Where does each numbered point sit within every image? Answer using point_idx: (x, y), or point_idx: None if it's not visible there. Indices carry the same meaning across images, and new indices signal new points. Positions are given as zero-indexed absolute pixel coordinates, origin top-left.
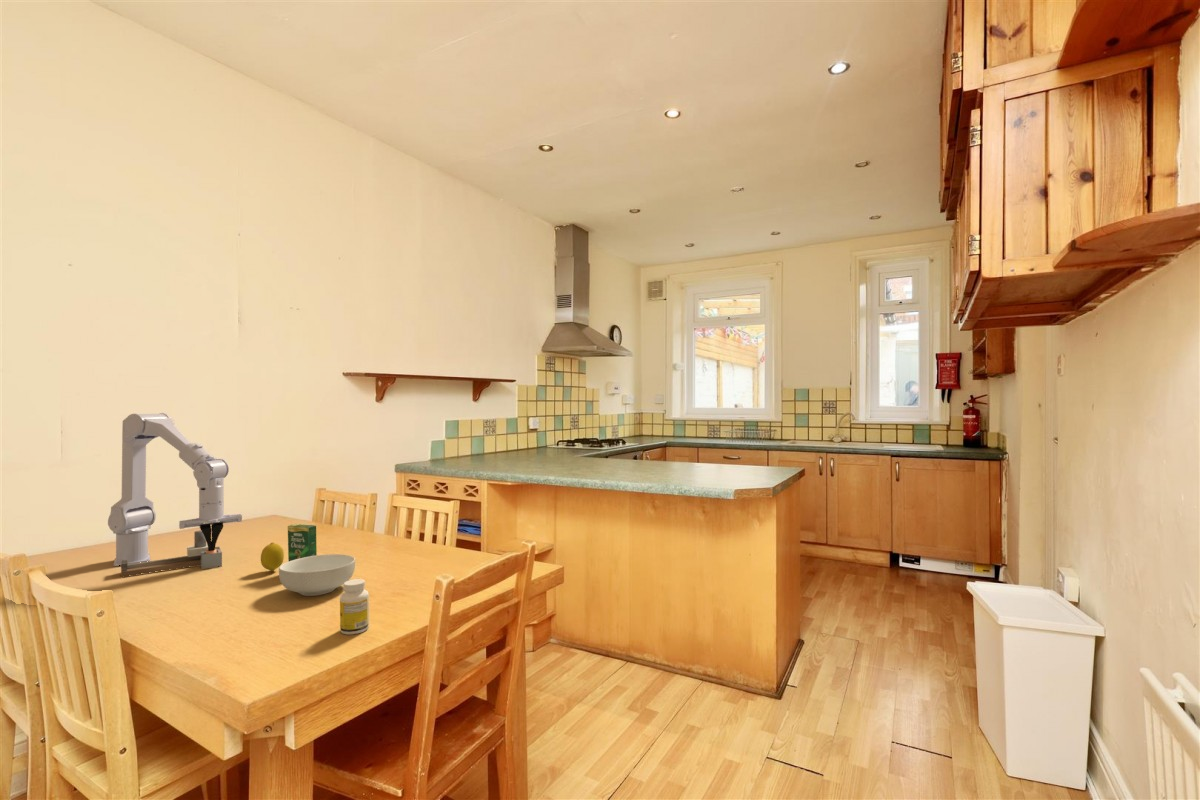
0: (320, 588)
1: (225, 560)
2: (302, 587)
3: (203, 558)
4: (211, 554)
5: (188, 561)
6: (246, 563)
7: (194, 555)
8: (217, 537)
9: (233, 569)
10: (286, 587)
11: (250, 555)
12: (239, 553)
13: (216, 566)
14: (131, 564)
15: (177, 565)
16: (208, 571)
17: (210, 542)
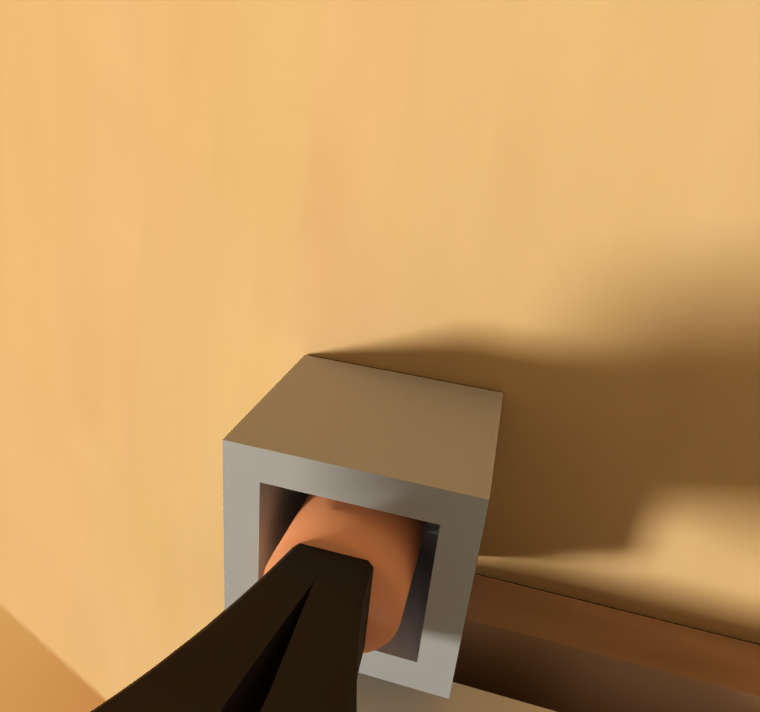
0: None
1: None
2: None
3: (474, 463)
4: (361, 466)
5: (578, 669)
6: (84, 275)
7: (516, 707)
8: (119, 694)
9: (216, 89)
10: None
11: (55, 548)
12: (131, 678)
13: (354, 369)
14: None
15: (698, 663)
16: (469, 239)
17: (298, 662)
